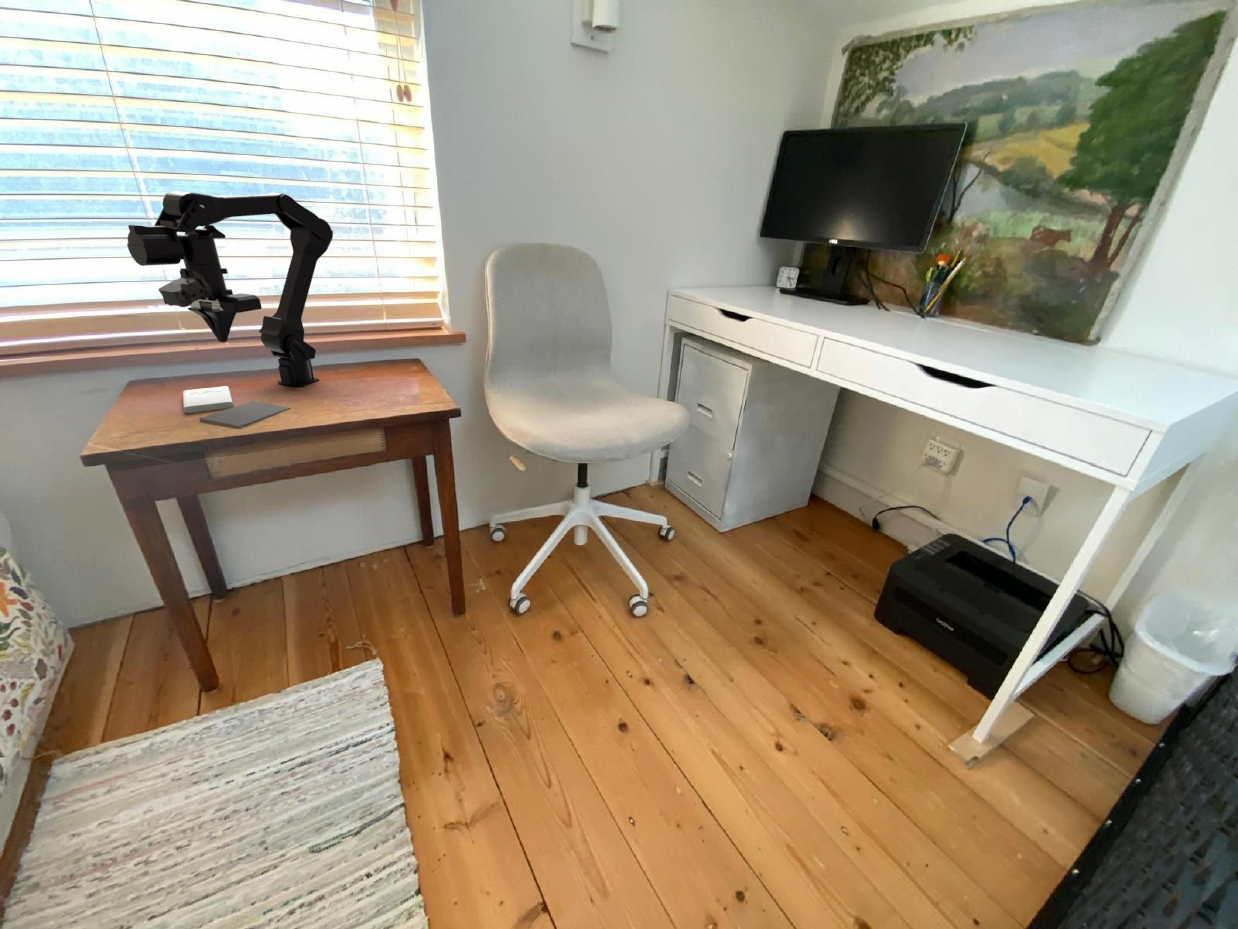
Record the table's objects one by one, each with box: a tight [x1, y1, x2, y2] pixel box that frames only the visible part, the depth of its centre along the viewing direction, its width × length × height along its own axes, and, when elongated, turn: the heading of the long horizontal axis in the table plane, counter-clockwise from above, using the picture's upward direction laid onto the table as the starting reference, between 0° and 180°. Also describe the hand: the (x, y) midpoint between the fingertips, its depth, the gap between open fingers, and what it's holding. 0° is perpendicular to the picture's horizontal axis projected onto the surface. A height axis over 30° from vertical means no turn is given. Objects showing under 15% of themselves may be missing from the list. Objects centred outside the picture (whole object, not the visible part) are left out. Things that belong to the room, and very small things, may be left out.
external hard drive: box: [182, 385, 235, 415], centre depth 114 cm, size 2×8×12 cm
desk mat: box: [199, 400, 291, 430], centre depth 109 cm, size 12×10×1 cm
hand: (223, 341), depth 111 cm, fingers closed
